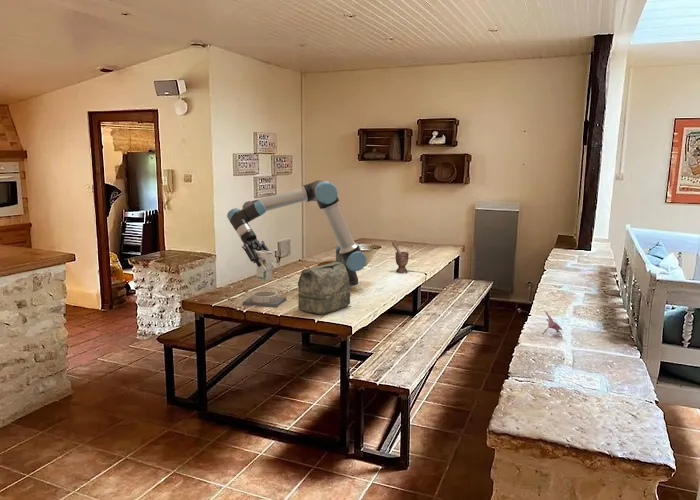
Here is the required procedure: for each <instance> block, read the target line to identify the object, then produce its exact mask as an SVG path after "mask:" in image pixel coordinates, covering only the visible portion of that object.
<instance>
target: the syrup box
mask: <svg viewBox="0 0 700 500" xmlns="http://www.w3.org/2000/svg"><path fill="white" fill-rule="evenodd" d="M256 253H257V256H258V260H259V259H260V260H261V261H262V263H263V264H264V266H265V268H266V271H265V272H264V273H263V272H262V271H261V269H260V268H259V267H258V266H257V265H256V281H258V280H259V281H263V282H265V281H269V280H272V279H273V271H272V261H273V251H272V250H271V251H270V250H269V251H264V250H261V251H257V250H256Z"/></svg>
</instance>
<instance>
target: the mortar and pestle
mask: <svg viewBox="0 0 700 500" xmlns="http://www.w3.org/2000/svg"><path fill="white" fill-rule="evenodd" d="M391 244H392V246H393V248H394V249H395V251H396V252H395V253H394V254H395V264H396V265H397V267H398V268H396V271H395V272H396V273H399V274H407V273H408V269H407V268H406V266H407V265H408V262H409V257H410V255H409V253H410V252H407V251H401V250H400V248H399V246H398V244H397V241H395V240H394V241H392V242H391Z"/></svg>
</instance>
